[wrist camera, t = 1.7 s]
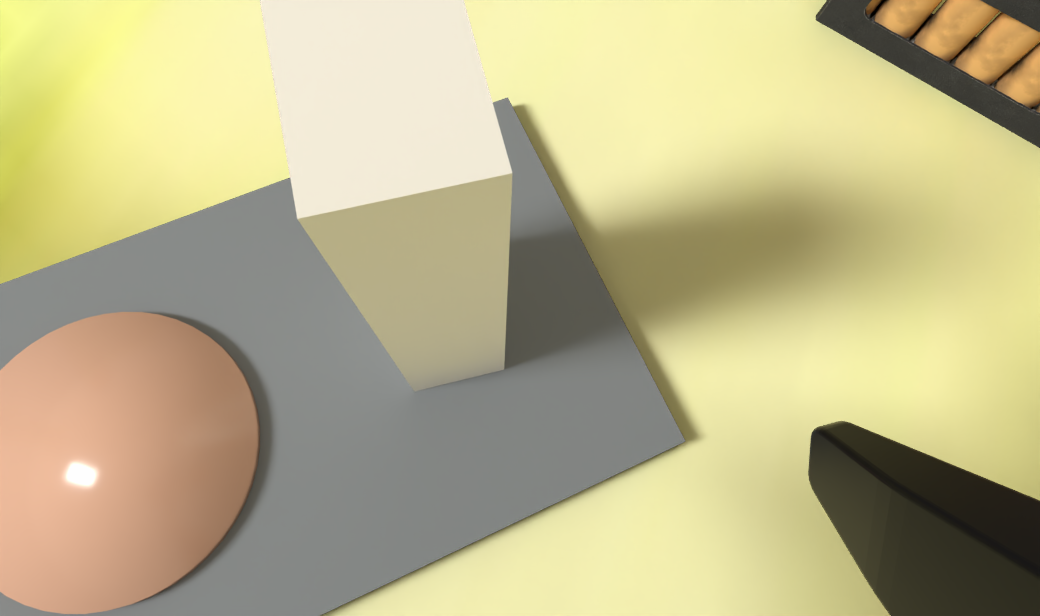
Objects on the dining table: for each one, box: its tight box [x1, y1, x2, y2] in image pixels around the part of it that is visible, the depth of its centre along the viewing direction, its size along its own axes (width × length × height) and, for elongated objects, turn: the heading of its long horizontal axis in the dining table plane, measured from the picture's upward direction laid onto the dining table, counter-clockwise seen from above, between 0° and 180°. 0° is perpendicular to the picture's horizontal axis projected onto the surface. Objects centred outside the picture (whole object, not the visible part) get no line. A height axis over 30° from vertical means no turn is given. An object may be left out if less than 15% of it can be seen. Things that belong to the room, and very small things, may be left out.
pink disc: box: [0, 312, 260, 614], centre depth 20 cm, size 9×9×1 cm
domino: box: [260, 0, 512, 392], centre depth 16 cm, size 4×3×13 cm
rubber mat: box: [0, 98, 685, 616], centre depth 21 cm, size 22×14×1 cm, turn 114°
